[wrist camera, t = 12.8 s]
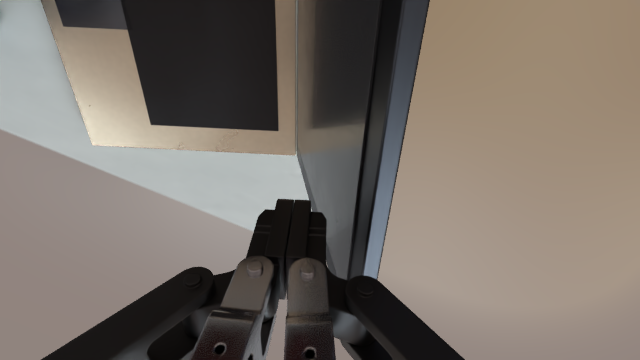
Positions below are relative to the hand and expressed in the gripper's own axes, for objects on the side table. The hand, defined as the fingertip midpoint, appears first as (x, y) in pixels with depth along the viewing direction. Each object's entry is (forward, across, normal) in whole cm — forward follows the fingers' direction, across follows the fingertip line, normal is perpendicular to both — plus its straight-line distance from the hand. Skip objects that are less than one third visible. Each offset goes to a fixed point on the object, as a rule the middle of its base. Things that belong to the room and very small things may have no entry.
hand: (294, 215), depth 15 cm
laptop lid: (+6, -1, -10) cm, 12 cm away
